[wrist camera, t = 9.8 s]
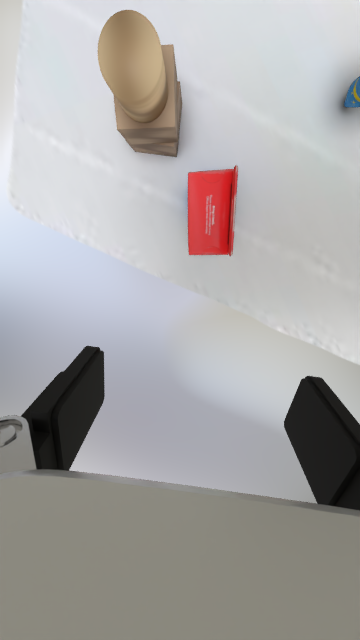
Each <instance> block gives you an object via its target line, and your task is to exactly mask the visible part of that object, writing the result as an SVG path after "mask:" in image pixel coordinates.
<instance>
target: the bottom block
mask: <svg viewBox="0 0 360 640" xmlns="http://www.w3.org/2000/svg"><path fill="white" fill-rule="evenodd" d="M177 105H178V139H179V129H180V118H181V108H182V98H181V88H180V82H178V81H177ZM127 143H128V142H127ZM128 144H129V143H128ZM129 145H130V146H131V147H132V148H133V150H134V151H135V152H142V153H150V154H157V155H165V156H172V157H177V149H178V142H176V143H153V144H129Z"/></svg>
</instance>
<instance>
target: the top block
mask: <svg viewBox="0 0 360 640" xmlns="http://www.w3.org/2000/svg"><path fill="white" fill-rule="evenodd" d="M161 50H162V55H163V60H164V66H165V71H166V77H167V82H168V99H167V103H166V106H165V108H164V110H163V112H162V113H161V115H160V116H159V117H158V118H157V119H155V120H154V121H152V122H149V123H139V122H136V121H134V120H132V119H131V118H130V117H129V116H128V115H127V114H126V113H125V112H124V110H123V108H122V107H121V105H120V104H119V102H118V100H117V99H116V97H115V96H114V103H115V113H116V123H117V130H118V131H119V132H120V133H121V135H122V136H123V137H124V138H125V139H126V141H127V142H128V143H129V144H153V143H176V142H178V105H177V73H176V64H175V56H174V47H173V45H161Z"/></svg>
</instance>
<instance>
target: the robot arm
mask: <svg viewBox="0 0 360 640" xmlns="http://www.w3.org/2000/svg"><path fill="white" fill-rule="evenodd" d="M103 400H104V352H103V351H100V348H99V347H91V346H86V347H85V348H84V349H83V350H82V351H81V353H80V354H79V355H78V356H77V357H76V358H75V359H74V361H73V362H72V363H71V364H70V365H69V367H68V368H67V369H66V370H65V371H64V372H60V373H59V374H58V375H57V376H56V377H55V378H54V380H53V381H52V382H51V383H50V384H49V385H48V386H47V387H46V389H45V390H44V391H43V392H42V393H41V394H40V395H39V396H38V398H37V399H36V400H35V401H34V402H33V403H32V404H31V406H29V408H28V409H27V410H26V411H25V412H24V413H23V414H22V416H17V415H13V416H5V417H1V418H0V640H360V424H359V423H358V422H357V421H356V419H355V418H354V417H353V416H352V414H351V413H350V412H349V411H348V410H347V408H346V407H345V406H344V405H343V403H342V402H341V401H340V400H339V399H338V397H337V396H336V395H335V394H334V392H333V391H332V390H331V389H330V387H329V386H328V385H327V384H326V383H325V381H324V380H323V379H322V378H320V377H312V376H307V377H305V379H302V380H301V382H300V384H299V387H298V389H297V392H296V394H295V396H294V399H293V401H292V403H291V406H290V408H289V411H288V413H287V415H286V418H285V421H284V427H285V430H286V432H287V435H288V437H289V439H290V441H291V444H292V446H293V448H294V451H295V453H296V455H297V458H298V460H299V462H300V464H301V467H302V469H303V471H304V474H305V476H306V478H307V480H308V483H309V485H310V487H311V490H312V492H313V494H314V497H315V499H316V501H317V503H318V504H315V503H308V502H301V501H294V500H286V499H281V498H273V497H267V496H259V495H252V494H245V493H238V492H230V491H224V490H217V489H209V488H201V487H195V486H188V485H180V484H172V483H165V482H158V481H149V480H142V479H135V478H127V477H120V476H112V475H103V474H94V473H85V472H77V471H69V469H70V467H71V465H72V463H73V461H74V459H75V457H76V455H77V453H78V451H79V449H80V447H81V445H82V443H83V441H84V439H85V437H86V435H87V433H88V431H89V429H90V427H91V425H92V423H93V421H94V419H95V418H96V416H97V414H98V412H99V409H100V407H101V406H102V404H103Z"/></svg>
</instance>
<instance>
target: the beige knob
mask: <svg viewBox="0 0 360 640" xmlns="http://www.w3.org/2000/svg"><path fill="white" fill-rule="evenodd" d="M98 61H99V66H100V70H101V73H102V75H103V77H104V80H105V81H106V83H107V85H108V86H109V88H110V89H111V91H112V92H113V94H114V96H115V97H116V99H117V100H118V102H119V104H120V105H121V107H122V108H123V110H124V112H125V113H126V114H127V115H128V116H129V117H130V118H131V119H132V120H134V121H136V122H139V123H149V122H152V121H154V120H155V119H157V118H158V117H159V116H160V115H161V113H162V112H163V110H164V108H165V106H166V103H167V99H168V82H167V77H166V71H165V66H164V60H163V55H162V50H161V44H160V40H159V37H158V35H157V32H156V30H155V28H154V27H153V25H152V24H151V22H150V21H149V20H148V19H147V18H146V17H145V16H144V15H142V14H140V13H139V12H136V11H133V10H123V11H120V12H117V13H116V14H114V15H113V16H111V17H110V18H109V20H108V21H107V22H106V24H105V25H104V27H103V29H102V31H101V34H100V38H99V43H98Z"/></svg>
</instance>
